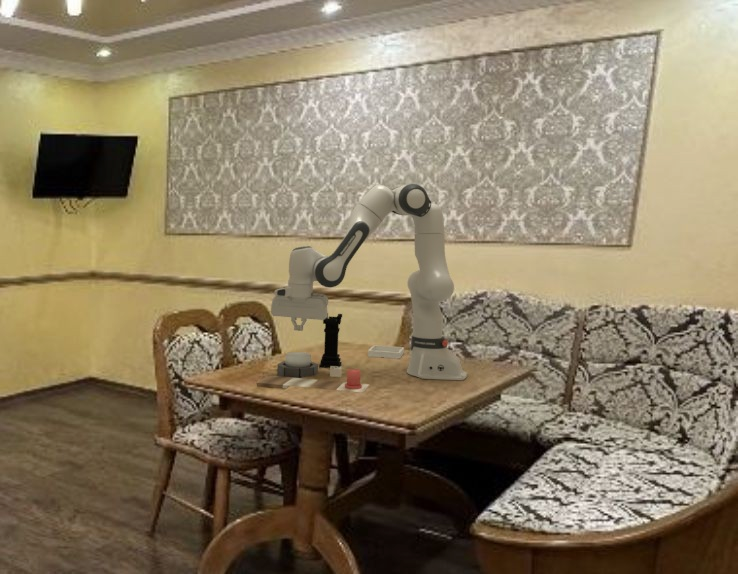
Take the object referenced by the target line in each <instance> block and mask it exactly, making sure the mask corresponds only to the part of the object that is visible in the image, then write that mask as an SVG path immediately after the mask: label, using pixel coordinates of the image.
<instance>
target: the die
mask: <svg viewBox="0 0 738 574" xmlns="http://www.w3.org/2000/svg"><path fill="white" fill-rule="evenodd" d="M342 371H343V369H342V365H341V366H330V368H329V377H330V378H331V377H332V378H333V377H334V378H342Z"/></svg>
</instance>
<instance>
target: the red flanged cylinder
mask: <svg viewBox="0 0 738 574" xmlns="http://www.w3.org/2000/svg"><path fill="white" fill-rule="evenodd" d="M361 373H362V372H361V370H360V369H357V368H356V369H355V368H349V369H347V371H346V382H347V383H346V384H345V388H348V389H360V388H362V384H363V383H361Z"/></svg>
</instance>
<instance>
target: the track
mask: <svg viewBox="0 0 738 574" xmlns="http://www.w3.org/2000/svg"><path fill="white" fill-rule="evenodd" d="M346 383H347V381H336V380H335V381H334V380H325V379H324V380H323V379H314V378H305V377H304V378H303V377H301V378H293V377H282V376H277V375H267V376H265V377H263V378H262V379H260V380H258V381H257V382H256V387H260V388H261V387H263V388H271V389H284V390H286V389H288V388H289V387H299V388H300V387H301V388H308V389H310V388H311V389H320V390H321V389H322V390H333V391H344V392H354V393H364V392H365V391H366V390H367V389H368V387H370V383H369V384H368V383H361V384H362V388H360V389H348V388H345V384H346Z"/></svg>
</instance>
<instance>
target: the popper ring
mask: <svg viewBox="0 0 738 574" xmlns="http://www.w3.org/2000/svg"><path fill="white" fill-rule="evenodd" d="M285 361H286V360H284V361H280V362H279V363H277V375H276V376H282V377H293V378H303V377H304V378H305V377H311V376H315V375H317V373H319V364H318V363H316V362H314V361H311V366H310V367H303V368H295V367H287V366H285Z"/></svg>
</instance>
